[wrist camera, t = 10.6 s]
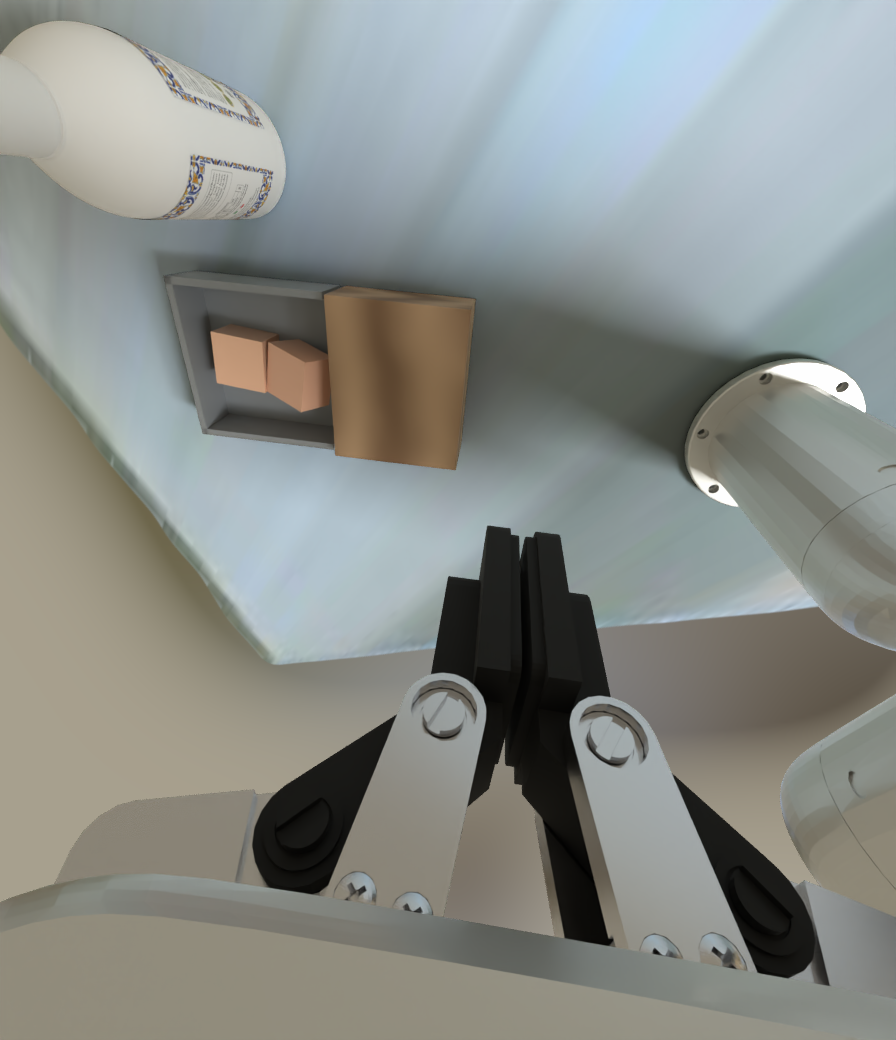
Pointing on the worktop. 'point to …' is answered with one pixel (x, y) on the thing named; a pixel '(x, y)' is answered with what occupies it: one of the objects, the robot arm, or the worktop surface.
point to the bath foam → (135, 127)
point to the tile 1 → (298, 374)
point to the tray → (259, 306)
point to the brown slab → (398, 374)
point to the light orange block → (242, 356)
